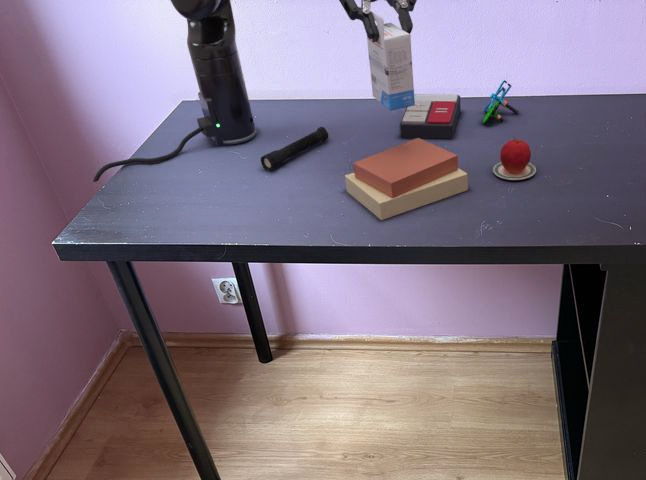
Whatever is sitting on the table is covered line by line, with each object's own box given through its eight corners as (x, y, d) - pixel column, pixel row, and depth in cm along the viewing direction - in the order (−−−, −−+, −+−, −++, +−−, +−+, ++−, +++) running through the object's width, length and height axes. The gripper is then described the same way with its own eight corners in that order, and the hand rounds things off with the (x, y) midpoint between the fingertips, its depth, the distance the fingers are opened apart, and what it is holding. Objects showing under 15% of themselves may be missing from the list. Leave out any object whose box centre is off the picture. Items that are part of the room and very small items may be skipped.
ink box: (416, 105, 114) (410, 13, 104) (390, 111, 113) (382, 18, 103) (396, 90, 120) (389, 2, 110) (371, 96, 118) (362, 6, 109)
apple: (506, 159, 128) (507, 126, 124) (543, 169, 124) (545, 135, 120) (484, 175, 123) (485, 142, 119) (522, 186, 120) (523, 151, 115)
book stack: (381, 220, 112) (377, 188, 108) (346, 191, 121) (342, 160, 117) (467, 190, 119) (467, 158, 115) (428, 164, 128) (427, 134, 124)
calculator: (399, 121, 135) (411, 90, 146) (400, 140, 138) (412, 109, 149) (452, 122, 134) (460, 91, 144) (452, 141, 137) (460, 110, 147)
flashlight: (262, 169, 129) (259, 154, 127) (319, 139, 139) (317, 125, 137) (273, 172, 128) (269, 157, 126) (330, 142, 138) (328, 127, 136)
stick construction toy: (487, 94, 148) (505, 70, 142) (512, 112, 150) (531, 89, 144) (472, 129, 142) (490, 106, 136) (498, 147, 144) (518, 125, 138)
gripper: (320, -72, 103) (353, 30, 102) (406, -82, 106) (438, 16, 106) (317, -39, 110) (347, 56, 109) (397, -50, 114) (427, 42, 113)
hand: (392, 36), depth 108 cm, fingers closed on ink box, 5 cm apart
